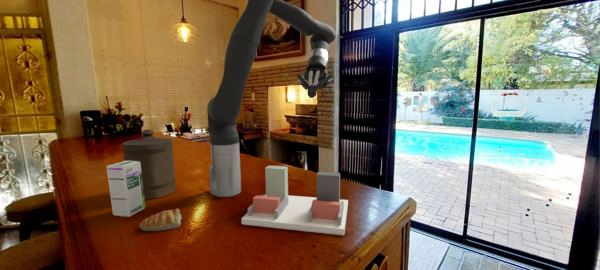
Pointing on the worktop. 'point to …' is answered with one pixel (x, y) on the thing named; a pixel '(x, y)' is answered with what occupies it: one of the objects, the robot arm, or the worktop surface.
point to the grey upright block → (328, 186)
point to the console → (298, 214)
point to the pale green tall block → (276, 181)
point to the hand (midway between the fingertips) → (311, 96)
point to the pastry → (162, 221)
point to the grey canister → (153, 163)
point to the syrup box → (126, 188)
